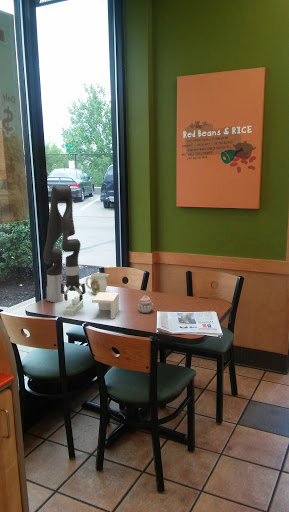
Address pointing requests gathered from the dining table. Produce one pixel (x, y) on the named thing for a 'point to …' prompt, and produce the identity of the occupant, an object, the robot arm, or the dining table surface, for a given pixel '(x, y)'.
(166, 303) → the dining table surface
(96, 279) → the pitcher
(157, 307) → the dining table surface
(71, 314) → the caddy
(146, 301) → the cupcake
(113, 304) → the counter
